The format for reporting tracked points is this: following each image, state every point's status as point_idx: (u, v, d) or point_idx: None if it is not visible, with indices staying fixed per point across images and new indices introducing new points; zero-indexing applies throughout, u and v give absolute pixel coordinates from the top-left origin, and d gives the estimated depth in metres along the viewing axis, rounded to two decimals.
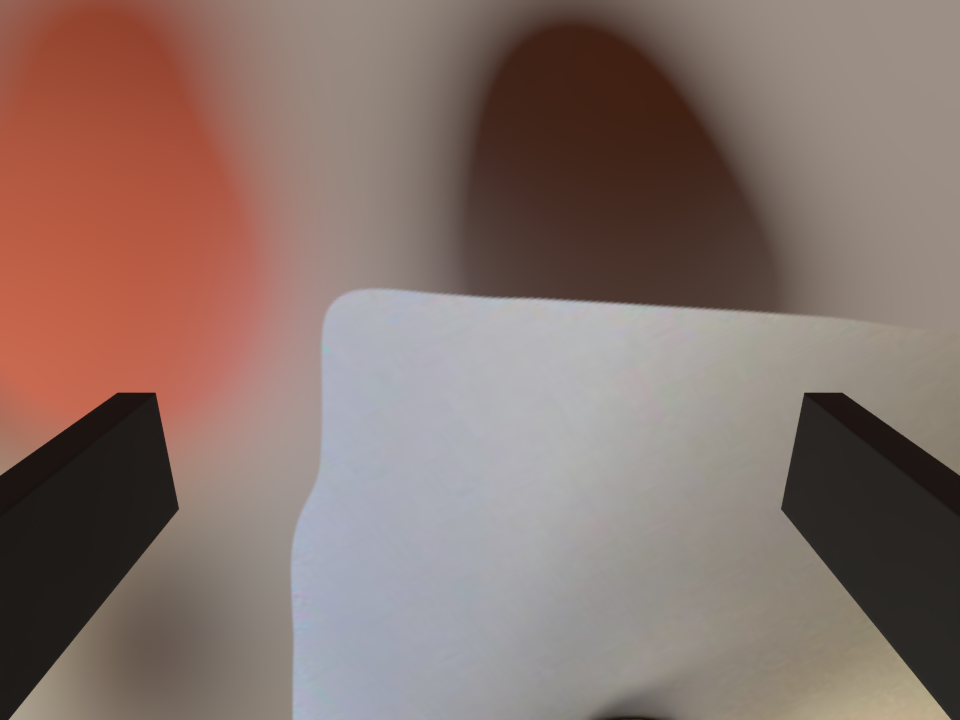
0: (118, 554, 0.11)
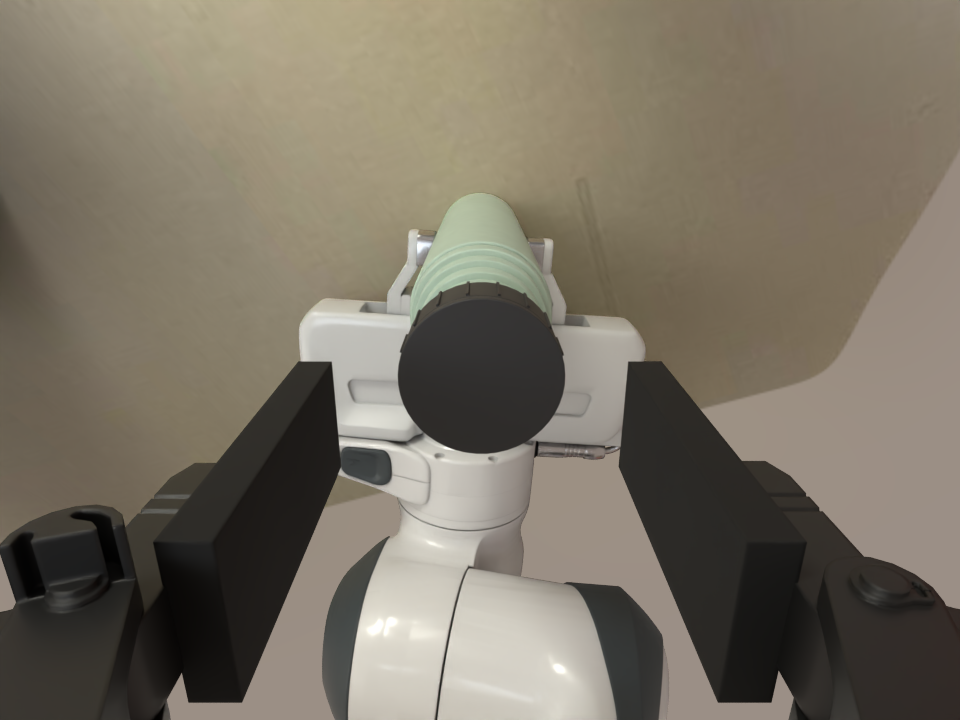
0: (317, 498, 0.12)
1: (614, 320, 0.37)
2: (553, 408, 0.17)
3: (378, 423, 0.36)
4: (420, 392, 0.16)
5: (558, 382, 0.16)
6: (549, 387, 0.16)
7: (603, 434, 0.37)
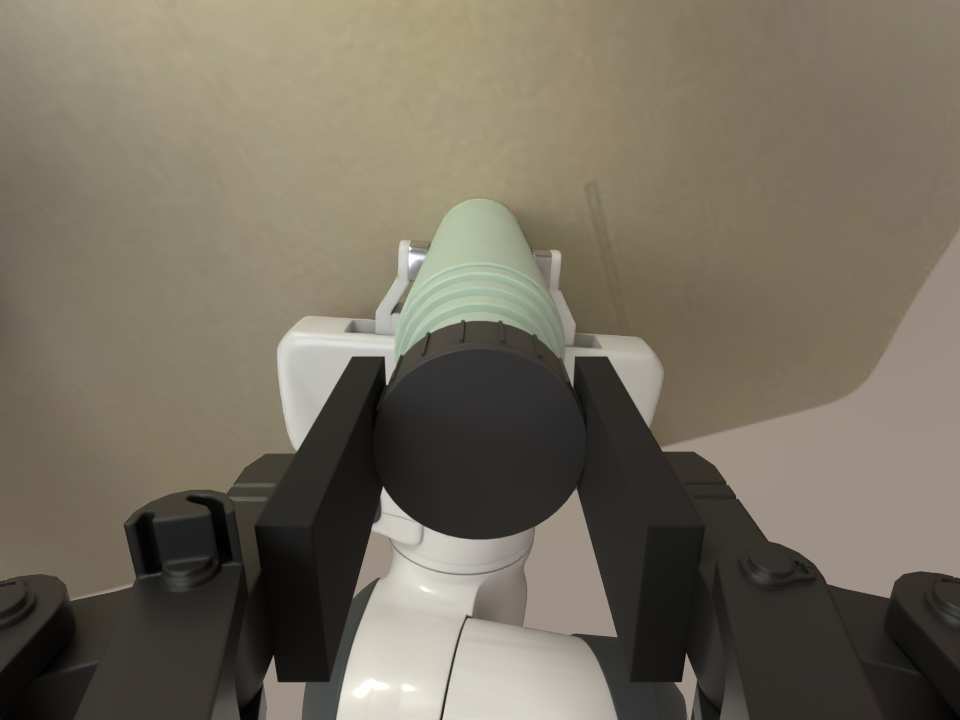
0: (375, 489, 0.13)
1: (628, 340, 0.33)
2: (572, 484, 0.13)
3: None
4: (401, 465, 0.13)
5: (579, 452, 0.13)
6: (567, 459, 0.13)
7: None
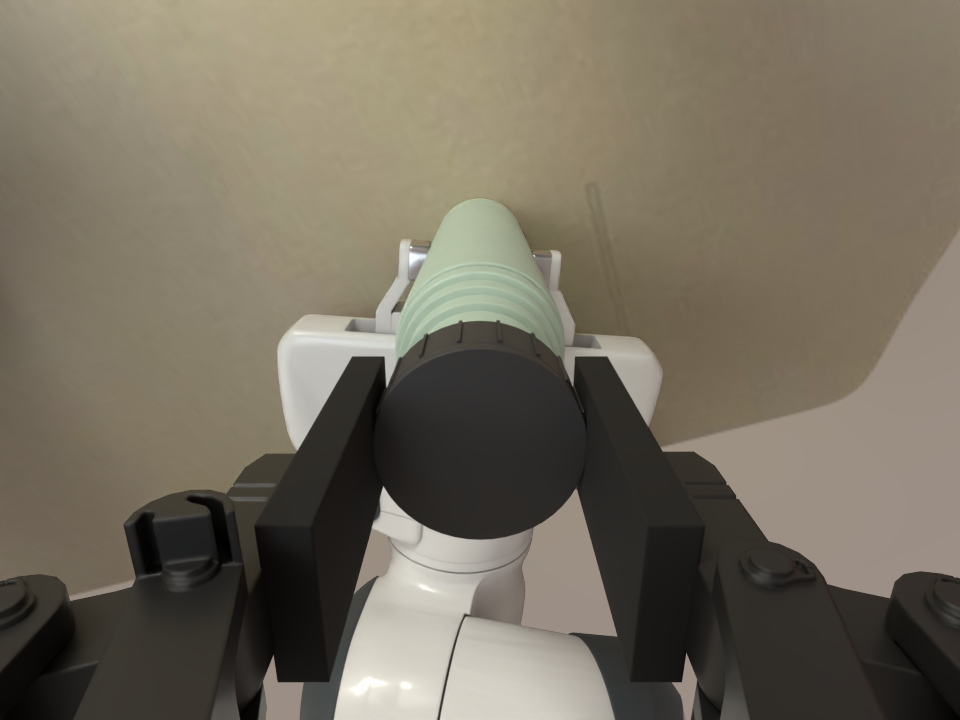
0: (375, 489, 0.13)
1: (627, 340, 0.33)
2: (528, 364, 0.12)
3: None
4: (491, 518, 0.13)
5: (490, 357, 0.12)
6: (496, 368, 0.12)
7: None
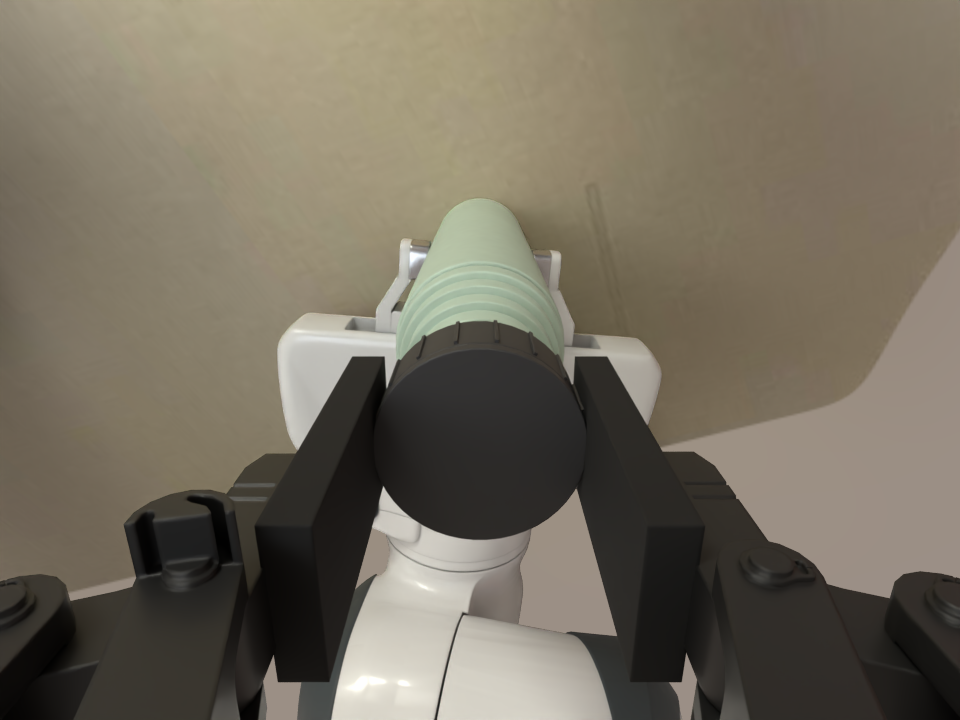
0: (375, 489, 0.13)
1: (626, 341, 0.33)
2: (389, 403, 0.12)
3: None
4: (561, 444, 0.13)
5: (381, 436, 0.12)
6: (393, 431, 0.12)
7: None
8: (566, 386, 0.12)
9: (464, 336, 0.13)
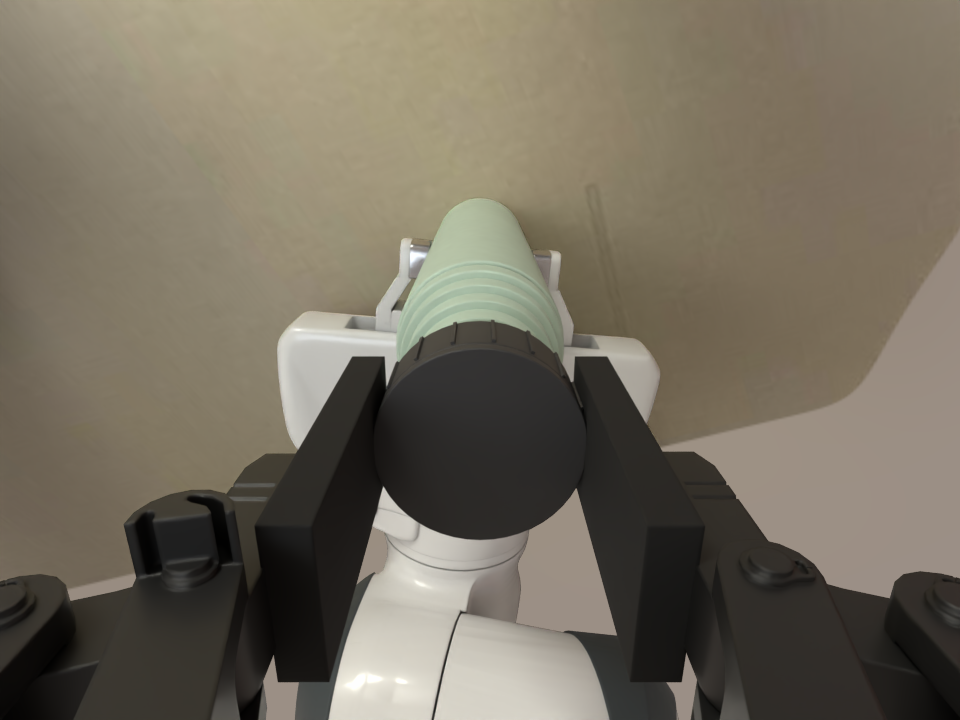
0: (375, 489, 0.13)
1: (625, 341, 0.33)
2: (425, 522, 0.13)
3: None
4: (478, 375, 0.12)
5: (459, 532, 0.13)
6: (454, 521, 0.13)
7: None
8: (414, 367, 0.12)
9: None
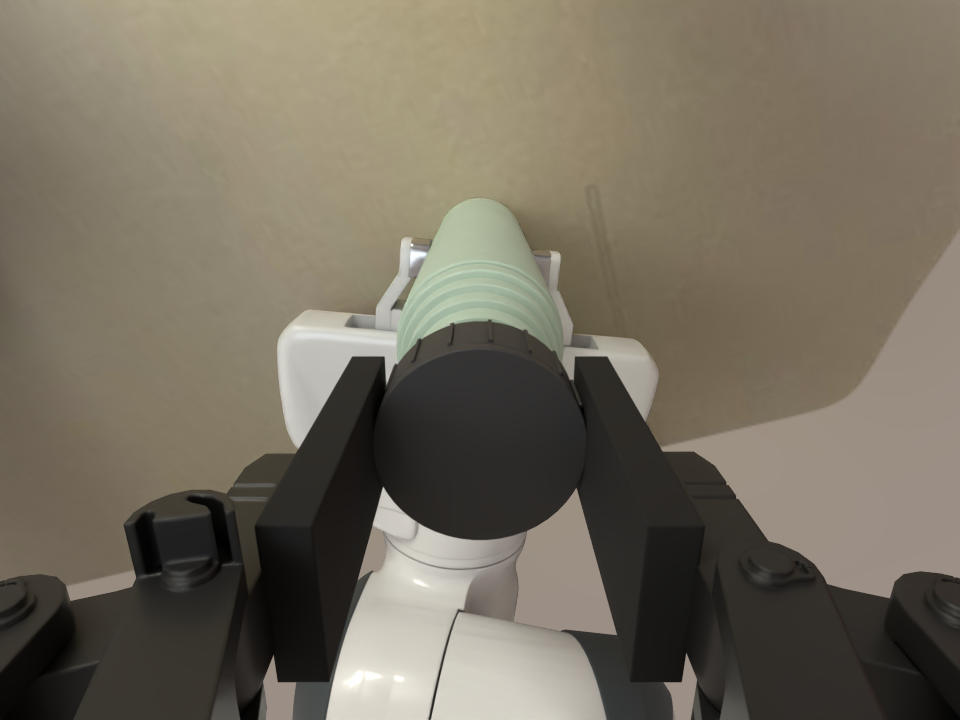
0: (375, 489, 0.13)
1: (624, 342, 0.34)
2: (558, 504, 0.13)
3: None
4: (398, 447, 0.13)
5: (573, 475, 0.13)
6: (560, 478, 0.13)
7: None
8: (391, 498, 0.13)
9: None
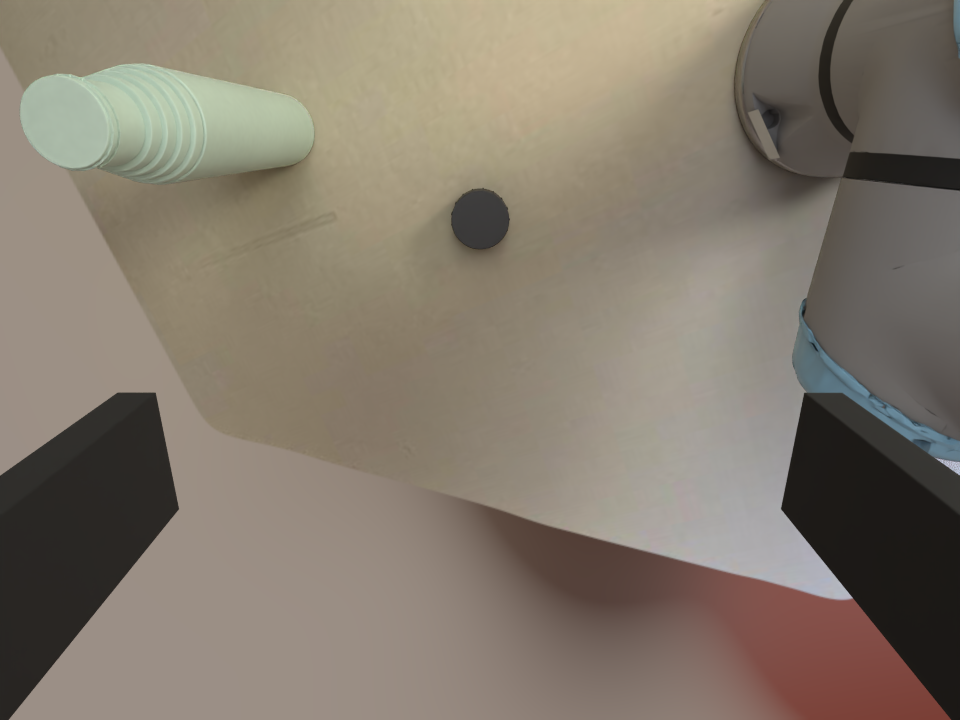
0: (118, 554, 0.11)
1: None
2: (501, 237, 0.48)
3: None
4: (458, 219, 0.47)
5: (505, 228, 0.47)
6: (502, 229, 0.48)
7: None
8: (456, 235, 0.48)
9: None
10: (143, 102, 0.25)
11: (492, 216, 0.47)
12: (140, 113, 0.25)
